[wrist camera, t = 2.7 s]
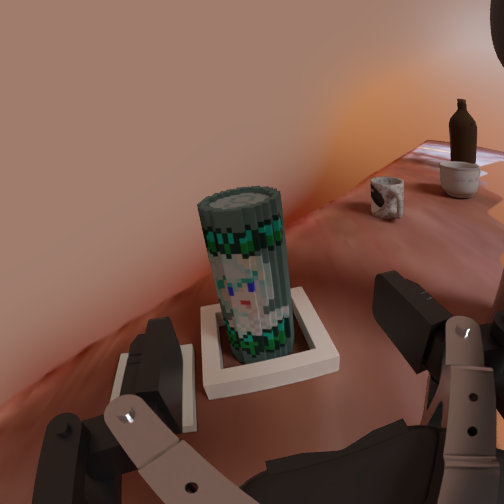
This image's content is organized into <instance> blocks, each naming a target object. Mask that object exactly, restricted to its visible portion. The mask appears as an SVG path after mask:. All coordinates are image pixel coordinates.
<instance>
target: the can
mask: <svg viewBox="0 0 504 504" xmlns="http://www.w3.org/2000/svg"><path fill="white" fill-rule="evenodd" d="M197 206H198V212H199V216H200V221H201V226H202V230H203V234H204V239H205V243H206V248H207V252H208V257H209V261H210V266H211V270H212V274H213V278H214V282H215V287H216V291H217V295H218V299H219V303H220V307H221V311H222V315H223V319H224V323H225V327H226V331H227V335H228V338H229V342H230V346H231V350H232V354H233V355H235V358H236V359H238V362H245V365H246V364H251V363H256V362H261V361H266V360H270V359H275V358H279V357H283V356H287V353H292V350H293V345H294V340H295V336H294V324H293V312H292V300H291V289H290V279H289V268H288V258H287V248H286V239H285V229H284V220H283V212H282V203H281V195H280V191H277V189H273V188H269V187H260V186H252V187H241V188H236V189H230V190H226V191H222V192H220V193H215V194H213V195H212V196H208V197H206V198H205V199H203V200H202V201H201V202H200V203H198V204H197Z"/></svg>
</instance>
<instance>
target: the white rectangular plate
mask: <svg viewBox="0 0 504 504" xmlns="http://www.w3.org/2000/svg"><path fill="white" fill-rule="evenodd" d="M180 348H181V351H182V356H183V401H182V428H183V433H187V432H196V431H197V421H196V395H195V350H194V348H193V345H192V344H187V345H181V346H180ZM128 354H129V353H124V354H121V356H120V360H119V364H118V368H117V372H116V377H115V381H114V386H113V390H112V395H111V399H110V402H111V401H112V400H114V399H115V398H117V397H119V395H120V390H121V385H122V380H123V376H124V371H125V367H126V365H127V364H126V362H127V358H128V357H129V356H128Z"/></svg>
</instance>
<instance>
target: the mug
mask: <svg viewBox="0 0 504 504" xmlns="http://www.w3.org/2000/svg"><path fill="white" fill-rule="evenodd" d="M403 198H404V181H403V180H401V179H399V178H394V177H376V178H372V179H371V214H372V215H373V216H375V217H378V218H382V219H396V218H397V219H400V218H401V217H402V216H403Z"/></svg>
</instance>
